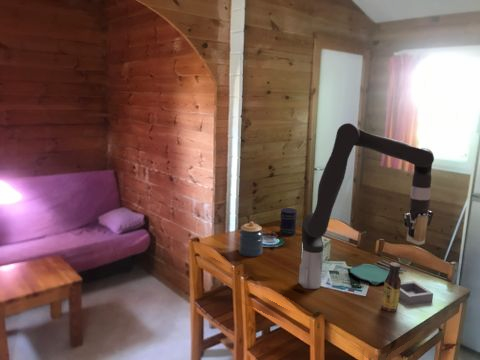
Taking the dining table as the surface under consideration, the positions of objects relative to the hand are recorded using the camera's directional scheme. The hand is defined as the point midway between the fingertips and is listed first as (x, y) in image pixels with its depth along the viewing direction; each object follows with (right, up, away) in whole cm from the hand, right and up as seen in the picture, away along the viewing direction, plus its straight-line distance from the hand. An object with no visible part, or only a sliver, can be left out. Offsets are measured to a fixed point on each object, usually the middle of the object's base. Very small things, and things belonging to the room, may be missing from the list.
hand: (416, 235), depth 177 cm
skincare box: (0, -3, +1) cm, 3 cm away
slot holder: (0, -27, +6) cm, 28 cm away
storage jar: (-45, -10, +83) cm, 95 cm away
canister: (-69, -16, +51) cm, 87 cm away
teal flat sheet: (-7, -23, +29) cm, 38 cm away
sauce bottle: (-13, -30, -4) cm, 33 cm away
